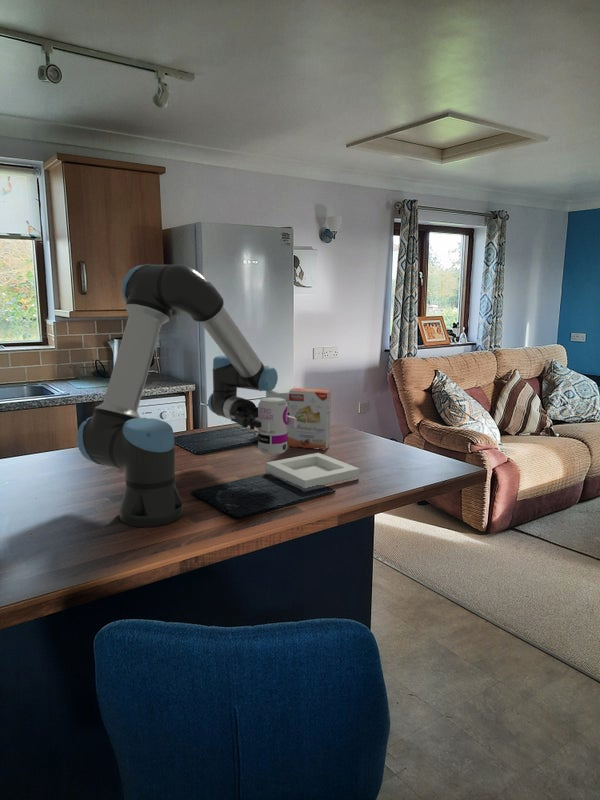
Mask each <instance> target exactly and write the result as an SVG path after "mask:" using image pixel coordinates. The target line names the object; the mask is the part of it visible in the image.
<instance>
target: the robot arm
mask: <svg viewBox="0 0 600 800" xmlns="http://www.w3.org/2000/svg"><path fill="white" fill-rule="evenodd" d="M122 280H123V281H122V285H121V292H122V294H123V295H122V297H123V300H124V301H125V306H124V308H125V310H126V312H127V313H128V318H127V321H126V325H125V328H124V331H123V335H122V339H121V341H120V346H119V348H118V352H117V354H116V359H115V360H114V361H115V363H114V366H113V368H112V372H111V376H110V378H109V381H108V385H107V389H106V392H105V396H104V398H103V399H104V400H103V402H102V403H101V404H99V405H97V406H95V407H94V411H93V415H92V416H90V417H88V418H86V419H85V420H83V421H82V422H81V424H80V425H79V427H78V430H77V434H76V442H77V448H78V450H79V452H80V454H81V455H82V456H83V457H84V458H85V459H86V460H88V461H90V462H93V463H95V464H97V465H101V466H106V467H107V466H108V467H111V468H115V469H119V470H123V471H125V472H124V476H125V477H124V478H125V488H124V492H123V495H122V499H121V502H120V505H119V509H118V510H119V511H118V514H119V520H120V521H121V522H122V523H124V524H125V525H128V526H131V527H138V528H139V527H141V528H144V527H145V528H146V527H147V528H148V527H149V528H150V527H159V526H164V525H168V524H171V523H174V522H175V521H178V520H179V519H180V518H181V517H183V513H184V508H183V507H184V505H183V502H182V499H181V496H180V494H179V490H178V487H177V485H176V479H175V478H176V469H175V468H176V467H175V466H176V465H175V464H176V460H175V459H176V458H175V455H176V451H175V449H176V448H175V444H176V441H175V436H174V430H173V427H172V426H171V425H170V423H168V422H166V421H164V420H161V419H157V418H148V417H141V416H140V414H139V412H138V409H139V406H140V403H141V399H142V395H143V392H144V388H145V386H146V382H147V378H148V374H149V372H150V371H149V370H150V368H151V364H152V361H153V356H154V353H155V350H156V347H157V342H158V339H159V336H160V331H161V328H162V326H163V325H164V324H166V323H168V322H169V321H170V318H171V316H172V311H182V312H185V313H186V314H188V315H189V316H190V317H191V318H192V320H193V321H195V322H197V323H200V324H201V325H202V326H203V328H204V329H205V330H206V332H207V333H208V334H209V336H210V337H211V339H212V340H213V341H214V343H215V344H216V345H217V346H218V348H219V349H220V350H221V352H222V353H223V354H224V355H218V356H215V357H214V358H213V362H212V389H213V391H212V393H211V394H210V395H209V397H208V399H207V407H208V409H209V410H210V411H211V412H212V413H214V414H215V415H217V416H219V417H223V418H225V419H229V420H230V421H231V422H233V423H236V424H238V425H240V426H241V427H243V428H245V429H247V428H248V427H249V430H251V431H253V430H255V428H256V429H257V430H258V429H261V430H263V431H266V432H270V422H268V421H266V420H263V419H260V418H258V406H257V405H256V404H255V402H253V401H251V400H249V399H246V398H244V397H240V396H238V395H237V394H238V389H245V390H254V391H258V392H266V391H271V390H273V389H274V388H275V387H276V385H277V384H278V377H279V376H278V371H277V370H276V368H274V367H272V366H269V365H264V363H263V362H262V360H261V359H260V357H259V356H258V354H257V353H256V352H255V350H254V349H253V347H252V346H251V345H250V343H249V341H248V340H247V339H246V336H244V334H243V332H241V330H240V329H239V326H238V325H237V324H236V322H235V321H234V320H233V318H232V317H231V315H230V314H229V312H228V310H227V309H226V307H225V306H224V305H225V301H224V298H223V297H222V295H221V294H220V293H219V291H218V289H217V288H216V287H215V286H214V285H213V284H212V282H210V281H209V279H207V278H206V277H205V276H204V274H203V275H202V273H200V272H199V271H198V270H197V269H194V268H192V267H190V266H188V265H185V264H180V263H176V264H175V263H174V264H173V263H172V264H154V263H153V264H152V263H146V264H141V265H137V266H135V267H132V268H131V269H130V270H129V271H128V272H127V273H126V274H125V276H124V278H123V279H122ZM289 414H290V413H289V412H288V419H287V426H290V427H293V428H297V418H295V417H291V416H289Z"/></svg>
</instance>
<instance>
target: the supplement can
mask: <svg viewBox="0 0 600 800" xmlns="http://www.w3.org/2000/svg"><path fill="white" fill-rule="evenodd" d="M257 407H258V418H260V419H263V420H266V421H268V422H270V432H266V431H263V430H261V429H258V428H257V432H258V433H257V440H258V441H257V449H258V451H260V452H261V453H263V454H267V455H279V454H283V453H285V452H286V451H287V449H288V437H287V419H288V404H287V402H286V400H285V398H281V397H266V396H265V397H262V398H260V400H259V402H258V405H257Z"/></svg>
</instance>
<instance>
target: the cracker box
mask: <svg viewBox="0 0 600 800" xmlns="http://www.w3.org/2000/svg"><path fill="white" fill-rule="evenodd" d="M331 397H332V390H329V389H327V390H326V389H315V388H301V387H299V388H293V389H291V390H289V413H290V414H289V416H291V417H295V418H297V428H293V427H290V426H289V430H288V437H287V447H288V446H292V447H291V448H297V447H305V448H304V449H306V448H319V449H326V448H327V447H328V446H329V447H330V438H331V437H330V436H331V435H330V433H331V409H332V407H331V404H332V403H331V401H332V398H331ZM329 447H328V448H329ZM328 448H327V449H328ZM327 449H326V450H327Z"/></svg>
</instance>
